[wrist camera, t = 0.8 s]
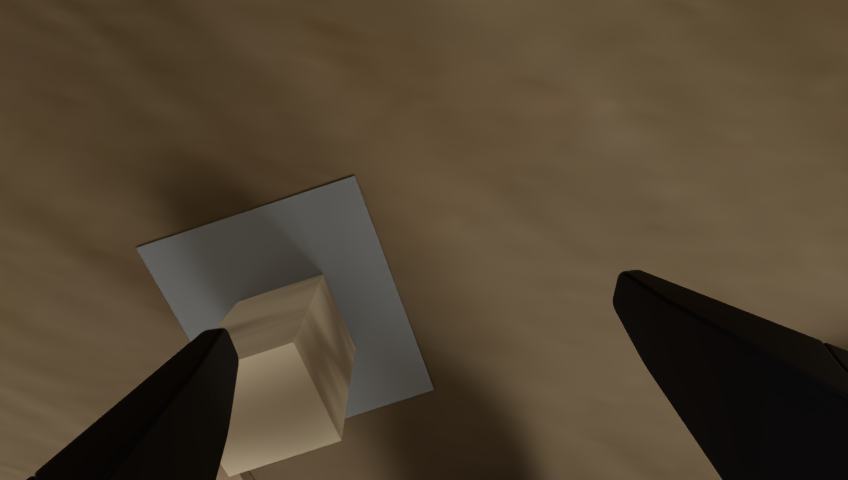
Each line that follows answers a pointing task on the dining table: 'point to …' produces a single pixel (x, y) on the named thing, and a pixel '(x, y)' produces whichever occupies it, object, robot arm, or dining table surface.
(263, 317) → the maple block
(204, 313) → the slate gray tile
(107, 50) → the dining table surface
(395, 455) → the dining table surface
